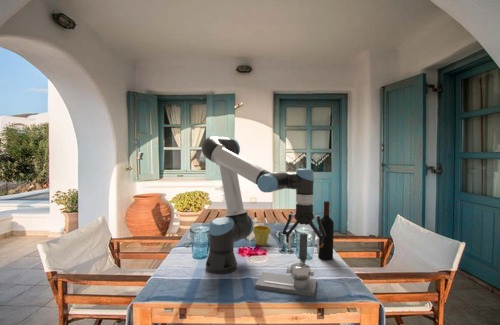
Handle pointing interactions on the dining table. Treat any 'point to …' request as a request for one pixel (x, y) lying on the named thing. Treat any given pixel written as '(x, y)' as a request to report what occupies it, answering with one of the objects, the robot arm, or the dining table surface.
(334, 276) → the dining table surface
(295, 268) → the grey lever handle
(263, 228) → the plant pot
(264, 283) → the base plate
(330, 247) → the wine bottle
